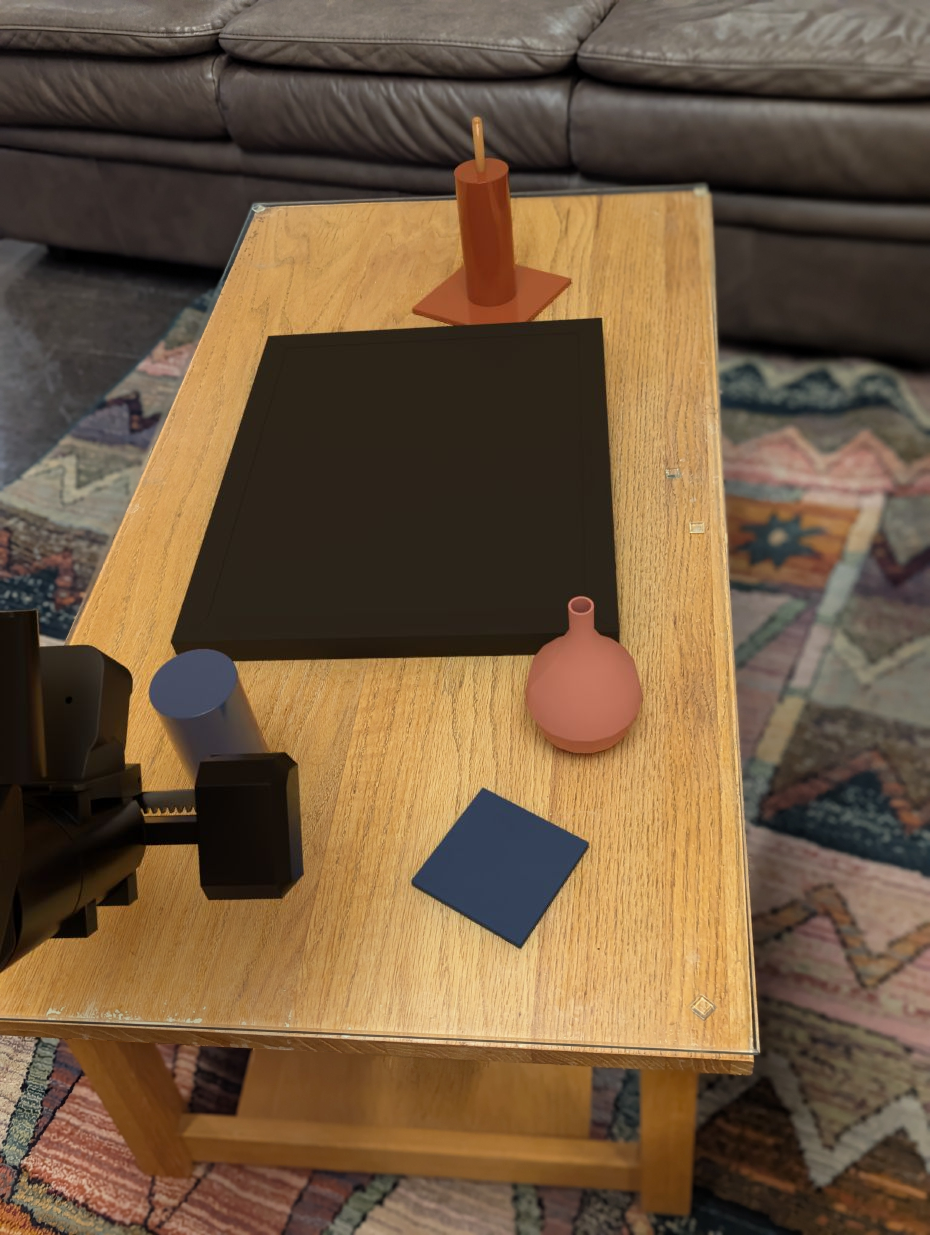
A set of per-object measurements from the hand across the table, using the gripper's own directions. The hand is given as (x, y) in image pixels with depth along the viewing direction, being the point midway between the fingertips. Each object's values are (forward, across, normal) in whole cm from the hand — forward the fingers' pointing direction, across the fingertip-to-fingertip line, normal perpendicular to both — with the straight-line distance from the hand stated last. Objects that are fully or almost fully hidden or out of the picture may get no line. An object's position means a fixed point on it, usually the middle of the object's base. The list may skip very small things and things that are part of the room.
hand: (161, 792), depth 57 cm
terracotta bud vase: (+19, -23, 0) cm, 30 cm away
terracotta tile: (+58, -16, -39) cm, 72 cm away
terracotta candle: (+58, -16, -40) cm, 72 cm away
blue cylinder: (+15, 0, +4) cm, 15 cm away
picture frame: (+38, -10, -19) cm, 44 cm away
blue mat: (+11, -17, +8) cm, 22 cm away
